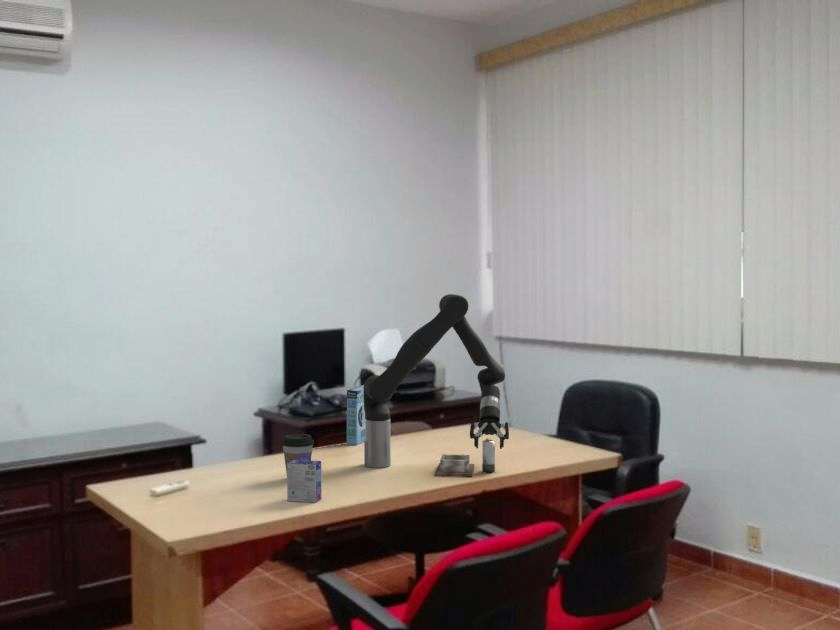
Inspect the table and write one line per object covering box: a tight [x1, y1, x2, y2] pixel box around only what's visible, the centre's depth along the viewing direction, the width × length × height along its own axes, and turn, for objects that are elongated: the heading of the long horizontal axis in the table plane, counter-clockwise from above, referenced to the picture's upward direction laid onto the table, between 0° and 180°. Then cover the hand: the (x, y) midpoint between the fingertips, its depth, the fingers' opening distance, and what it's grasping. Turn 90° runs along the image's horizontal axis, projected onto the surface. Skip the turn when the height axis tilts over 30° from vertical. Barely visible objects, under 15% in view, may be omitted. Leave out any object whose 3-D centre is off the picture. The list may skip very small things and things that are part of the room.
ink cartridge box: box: [286, 453, 322, 503], centre depth 270 cm, size 10×6×14 cm, turn 78°
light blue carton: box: [346, 384, 366, 446], centre depth 364 cm, size 20×5×23 cm, turn 161°
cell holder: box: [434, 453, 475, 478], centre depth 308 cm, size 13×16×5 cm
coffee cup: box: [281, 433, 315, 474], centre depth 297 cm, size 11×11×15 cm
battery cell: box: [481, 438, 496, 474], centre depth 308 cm, size 4×4×12 cm
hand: (488, 447), depth 310 cm, fingers open, 8 cm apart
